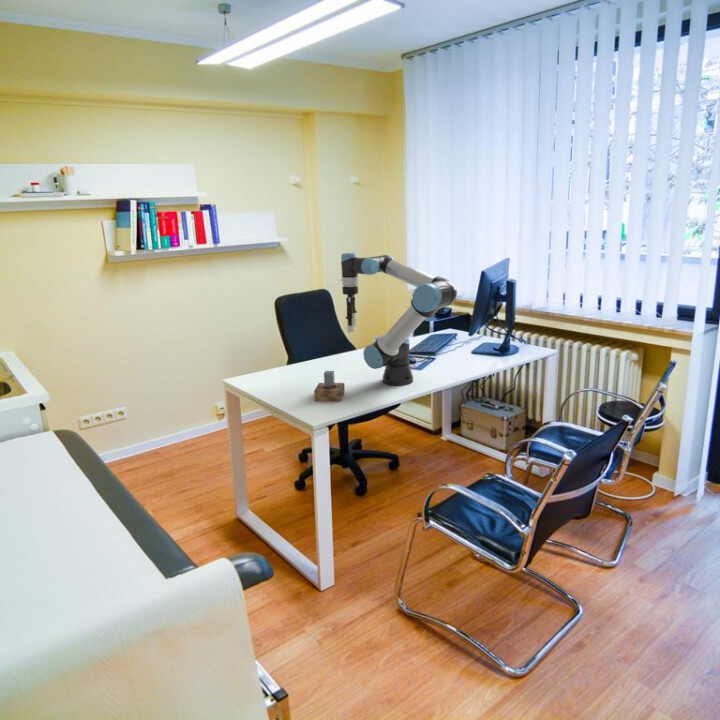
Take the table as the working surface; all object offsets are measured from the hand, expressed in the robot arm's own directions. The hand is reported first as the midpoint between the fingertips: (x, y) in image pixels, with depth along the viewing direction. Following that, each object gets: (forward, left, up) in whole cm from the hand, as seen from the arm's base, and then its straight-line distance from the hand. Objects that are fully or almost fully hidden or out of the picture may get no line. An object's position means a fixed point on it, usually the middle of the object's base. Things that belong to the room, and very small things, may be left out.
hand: (351, 329), depth 286 cm
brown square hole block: (+8, +25, -27) cm, 37 cm away
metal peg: (+8, +25, -27) cm, 37 cm away
